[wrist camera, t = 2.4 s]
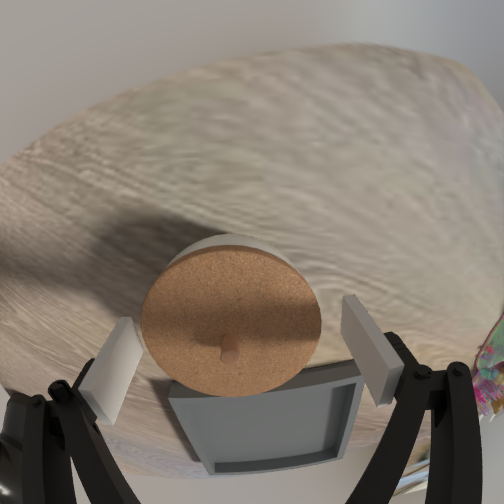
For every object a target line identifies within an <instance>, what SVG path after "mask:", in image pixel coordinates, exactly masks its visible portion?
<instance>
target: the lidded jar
mask: <svg viewBox="0 0 504 504" xmlns="http://www.w3.org/2000/svg"><path fill="white" fill-rule="evenodd" d="M141 329H142V335H143V339H144V341H145V344H146V347H147V349H148V350H149V352H150V354H151V356H152V358H153V359H154V360H155V361H156V363H157V364H158V365H159V366H160V367H161V368H162V369H163V370H164V371H165V372H166V373H167V374H168V375H169V376H170V377H172V378H173V379H175V380H176V381H178V382H179V383H181V384H183V385H185V386H186V387H188V388H191V389H193V390H196V391H199V392H202V393H206V394H209V395H215V396H222V397H242V396H250V395H255V394H260V393H263V392H266V391H269V390H271V389H274V388H276V387H278V386H280V385H282V384H284V383H285V382H287V381H288V380H290V379H291V378H292V377H294V376H295V375H296V374H298V373H299V372H300V371H301V370H302V368H303V367H304V366H305V365H306V364H307V363H308V361H309V360H310V358H311V357H312V355H313V354H314V351H315V349H316V347H317V345H318V342H319V338H320V334H321V314H320V308H319V305H318V302H317V300H316V297H315V295H314V293H313V292H312V290H311V288H310V286H309V285H308V283H307V281H306V280H305V279H304V278H303V277H302V276H301V274H300V273H299V271H298V270H297V268H296V267H295V266H294V265H293V264H292V262H291V261H290V260H289V259H288V258H287V257H286V256H285V255H284V254H282V253H281V252H280V251H279V250H278V249H276V248H275V247H273V246H271V245H270V244H268V243H266V242H264V241H262V240H259V239H257V238H254V237H251V236H246V235H241V234H221V235H215V236H211V237H207V238H204V239H202V240H200V241H198V242H195V243H193V244H191V245H190V246H188V247H187V248H185V249H184V250H182V251H181V252H180V253H179V254H178V255H177V256H176V257H175V258H174V259H173V260H172V261H170V263H169V264H168V265H167V267H166V268H165V269H164V270H163V271H162V272H161V273H160V274H159V276H158V277H157V278H156V280H155V281H154V283H153V284H152V285H151V287H150V289H149V291H148V293H147V295H146V297H145V300H144V302H143V307H142V311H141Z"/></svg>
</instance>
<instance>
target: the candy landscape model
mask: <svg viewBox="0 0 504 504" xmlns="http://www.w3.org/2000/svg"><path fill="white" fill-rule="evenodd" d="M476 367H477V368H478V370H477V372H476V374H475V376H474V377H473V379H472V382H473V387H474V392H475V398H476V404H477V406H478V407H479V408H480V410H481V411H482V413H483V415H486V413H485V412H484V411H485V410H486V412H487V413H489V411H488V409H487V407H486V405H485V404H487V403H488V401H489V400H488V399H490V400H491V405H492V407H493V410H494V414H497V412H498V411H499V409H500V407H501V405H503V409H504V314H503V315H502V317H501V319H500V321H499V322H498V323H497V324H496V326H495V327H494V329H493V330H492V331H491V333H490V335H489V337H488V338H487V340H486V342H485V344H484V346H483V347H482V349H481V351H480V352H479V354H478V357H477V360H476ZM489 395H490V396H491V398H490V396H489ZM484 396H485V397H486V398H485V397H484ZM487 398H488V399H487ZM487 400H488V401H487ZM483 402H484V403H485V404H484V403H483ZM501 403H502V404H501ZM484 409H485V410H484Z"/></svg>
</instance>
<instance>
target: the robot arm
mask: <svg viewBox="0 0 504 504" xmlns="http://www.w3.org/2000/svg"><path fill="white" fill-rule="evenodd" d="M340 333H341V335H342V337H343V338H344V340H345V342H346V344H347V346H348V348H349V350H350V352H351V354H352V356H353V358H354V360H355V362H356V364H357V366H358V368H359V370H360V372H361V375H362V377H363V379H364V381H365V383H366V385H367V387H368V389H369V391H370V393H371V395H372V397H373V400H374V402H375V404H376V406H377V408H379V407H382V406H385V405H389V404H391V403H392V400H393V397H395V399H396V401H397V403H396V406H395V408H394V411H393V413H392V416H391V418H390V421H389V423H388V425H387V427H386V430H385V432H384V434H383V436H382V438H381V441H380V443H379V445H378V447H377V449H376V451H375V453H374V455H373V457H372V459H371V461H370V462H369V464H368V466H367V468H366V470H365V472H364V473H363V475H362V477H361V479H360V480H359V482H358V484H357V486H356V487H355V489H354V491H353V492H352V494H351V495H350V497H349V498H348V500H347V502H346V503H345V504H388V503H389V501H390V499H391V497H392V495H393V493H394V491H395V489H396V487H397V485H398V483H399V480H400V478H401V476H402V474H403V471H404V469H405V467H406V464H407V462H408V459H409V457H410V454H411V452H412V449H413V446H414V444H415V441H416V438H417V435H418V432H419V429H420V426H421V423H422V419H423V416H424V413H425V410H431V451H430V466H429V477H428V485H427V493H426V500H425V504H481V502H482V447H481V435H480V425H479V417H478V410H477V404H476V398H475V392H474V387H473V382H472V377H471V373H470V369H469V367H468V366H467V365H466V364H464V363H462V362H458V361H456V362H452V363H450V364H449V366H448V367H447V370H441V371H432V369H431V368H429V367H428V366H426V365H422V364H419V363H418V362H417V360H416V359H415V357H414V356H413V355H412V353H411V352H410V351H409V349H408V348H407V347H406V345H405V344H404V343H403V341H402V340H401V339H400V337H399V336H398V335H396V334H395V333H393V332H387V333H382V331H381V330H380V328H379V327H378V326H377V324H376V323H375V321H374V320H373V319H372V317H371V316H370V315H369V313H368V312H367V310H366V309H365V308H364V306H363V305H362V304H361V302H360V301H359V300H358V298H357V297H356V296H355V294H353V295H346V296H343V304H342V319H341V331H340ZM143 351H144V349H143V347H142V344H141V342H140V339H139V336H138V334H137V331H136V328H135V325H134V323H133V320H132V317H121V318H120V320H119V321H118V323H117V324H116V326H115V328H114V329H113V331H112V332H111V334H110V335H109V337H108V339H107V340H106V342H105V344H104V345H103V347H102V348H101V350H100V352H99V353H98V355H97V357H96V358H92V359H90V360H89V361H88V362H87V363H86V364H85V366H84V367H83V369H82V371H81V372H80V374H79V376H78V377H77V379H76V381H75V383H74V384H73V386H72V388H71V387H70V386H69V384H68V383H67V381H65V380H57V381H55V382H53V383H52V384H51V385H50V386H49V388H48V393H49V395H50V396H51V398H52V399H53V400H51V401H47V400H46V399H45V398H44V396H43V395H40V394H39V395H34V396H32V397H31V398H30V397H28V396H26V395H23V394H19V393H14V394H13V395H12V396H11V398H10V399H9V401H8V403H7V409H6V412H5V417H4V423H3V429H2V431H1V434H0V504H77V503H76V497H75V491H74V485H73V477H72V469H71V460H70V457H72V460H73V463H74V466H75V468H76V471H77V473H78V476H79V478H80V480H81V482H82V485H83V487H84V490H85V492H86V494H87V496H88V498H89V500H90V502H91V504H141V503H140V502H139V500H138V499H137V497H136V496H135V494H134V493H133V491H132V489H131V488H130V486H129V485H128V483H127V482H126V480H125V478H124V476H123V475H122V473H121V471H120V469H119V468H118V466H117V464H116V462H115V460H114V458H113V457H112V455H111V453H110V451H109V449H108V447H107V445H106V443H105V441H104V439H103V436H102V434H101V432H100V430H99V428H98V426H97V424H96V423H95V421H96V419H97V418H98V419H99V421H100V422H101V423H102V424H106V425H112V426H114V424H115V421H116V419H117V416H118V413H119V411H120V408H121V405H122V403H123V400H124V398H125V395H126V392H127V390H128V387H129V385H130V382H131V380H132V378H133V375H134V373H135V370H136V368H137V365H138V363H139V361H140V358H141V356H142V354H143Z"/></svg>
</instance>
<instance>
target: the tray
mask: <svg viewBox="0 0 504 504" xmlns="http://www.w3.org/2000/svg"><path fill="white" fill-rule="evenodd" d="M364 384H365V381H364V379H363V377H362V375H361V372H360V370H359V368H358V366H357V364H356V362H355V360H350V361H346V362H341V363H336V364H331V365H326V366H321V367H316V368H310V369H304V370H301V371H300V372H299V373H298V374H296V375H295V376H294V377H292V378H291V379H290V380H288V381H287V382H285V383H284V384H282V385H280V386H278V387H276V388H274V389H271V390H269V391H266V392H263V393H260V394H255V395H250V396H242V397H222V396H215V395H209V394H206V393H202V392H199V391H196V390H193V389H191V388H188V387H186V386H185V385H183V384H181V383H179V382H178V381H172V382H171V387H170V391H169V395H168V399H169V401H170V404H171V406H172V408H173V410H174V412H175V414H176V416H177V418H178V420H179V422H180V424H181V426H182V428H183V430H184V432H185V433H186V435H187V437H188V439H189V441H190V443H191V444H192V446H193V448H194V450H195V452H196V453H197V455H198V457H199V458H200V460H201V462H202V464H203V465H204V467H205V469H206V470H207V472H208V473H209V475H238V474H253V473H264V472H274V471H281V470H288V469H295V468H301V467H307V466H312V465H317V464H322V463H325V462H330V461H335V460H339V459H342V458H343V456H344V453H345V450H346V447H347V444H348V441H349V438H350V435H351V431H352V428H353V425H354V421H355V418H356V415H357V411H358V407H359V404H360V400H361V396H362V392H363V388H364Z"/></svg>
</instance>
